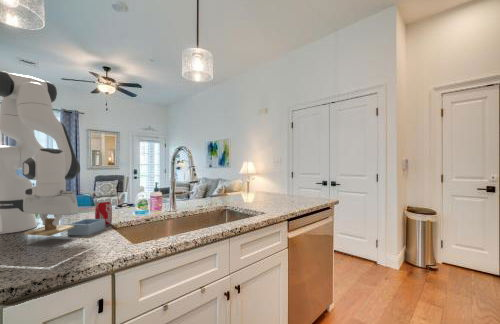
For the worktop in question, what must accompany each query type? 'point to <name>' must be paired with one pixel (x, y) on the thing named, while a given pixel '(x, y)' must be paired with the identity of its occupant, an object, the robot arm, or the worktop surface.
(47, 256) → the worktop surface
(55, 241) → the mat
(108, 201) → the soda can
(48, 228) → the lid
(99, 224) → the dish
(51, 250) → the worktop surface
